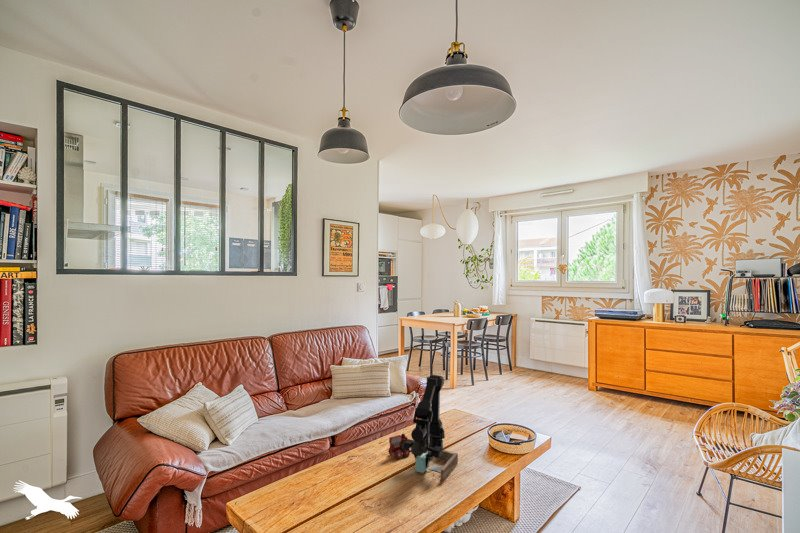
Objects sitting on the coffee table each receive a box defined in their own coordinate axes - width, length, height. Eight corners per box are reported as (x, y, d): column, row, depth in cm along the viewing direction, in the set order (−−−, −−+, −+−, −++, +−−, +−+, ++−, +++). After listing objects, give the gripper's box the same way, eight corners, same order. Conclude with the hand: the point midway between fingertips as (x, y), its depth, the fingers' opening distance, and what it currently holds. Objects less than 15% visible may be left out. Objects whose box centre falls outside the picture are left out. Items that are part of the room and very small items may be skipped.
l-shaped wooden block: (421, 475, 178) (421, 464, 178) (437, 458, 195) (437, 448, 195) (443, 481, 173) (443, 470, 173) (457, 463, 190) (457, 453, 190)
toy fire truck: (412, 454, 198) (413, 434, 198) (393, 461, 191) (394, 440, 191) (404, 449, 204) (405, 430, 204) (385, 455, 196) (386, 435, 196)
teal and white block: (423, 473, 177) (423, 459, 177) (415, 470, 179) (415, 457, 179) (429, 466, 183) (429, 453, 183) (421, 464, 185) (421, 451, 185)
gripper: (397, 435, 179) (396, 468, 178) (434, 444, 170) (433, 479, 170) (408, 426, 189) (407, 458, 188) (443, 435, 180) (443, 468, 180)
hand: (422, 466), depth 181 cm, fingers closed on teal and white block, 4 cm apart
